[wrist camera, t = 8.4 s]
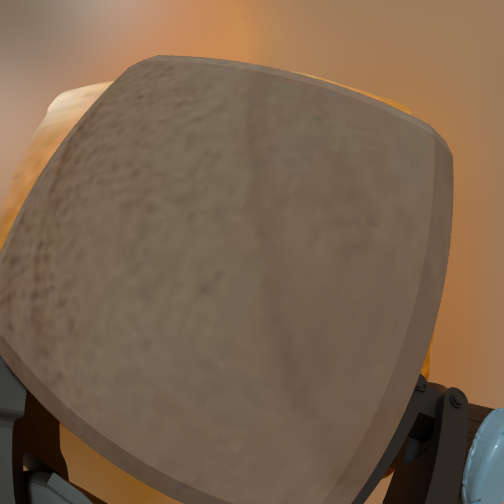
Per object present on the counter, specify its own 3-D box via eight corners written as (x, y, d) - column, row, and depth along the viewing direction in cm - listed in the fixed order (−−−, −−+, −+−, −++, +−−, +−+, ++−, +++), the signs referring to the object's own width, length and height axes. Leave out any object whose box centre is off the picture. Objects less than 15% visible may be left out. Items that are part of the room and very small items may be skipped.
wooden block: (323, 284, 24) (464, 129, 5) (279, 389, 21) (328, 557, 2) (222, 243, 25) (139, 45, 6) (175, 342, 23) (-34, 324, 4)
